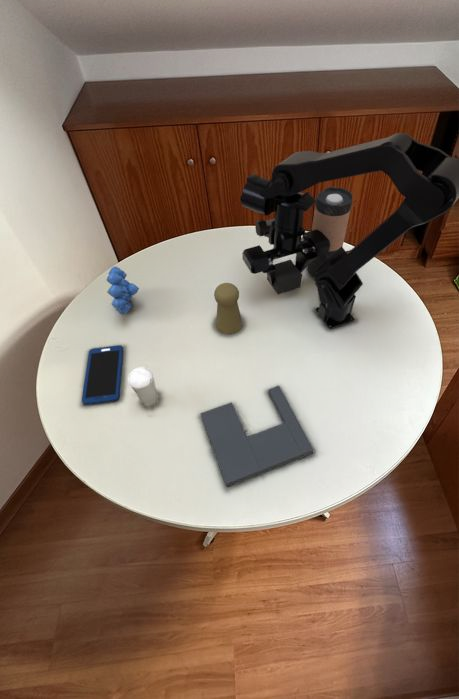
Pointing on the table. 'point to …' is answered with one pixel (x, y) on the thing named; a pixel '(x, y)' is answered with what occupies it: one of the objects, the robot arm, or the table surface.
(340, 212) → the travel mug
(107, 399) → the cell phone
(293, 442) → the base pad
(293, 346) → the table surface
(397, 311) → the table surface
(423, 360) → the table surface
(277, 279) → the black block
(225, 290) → the olive pawn
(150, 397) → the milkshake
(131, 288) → the grapes
